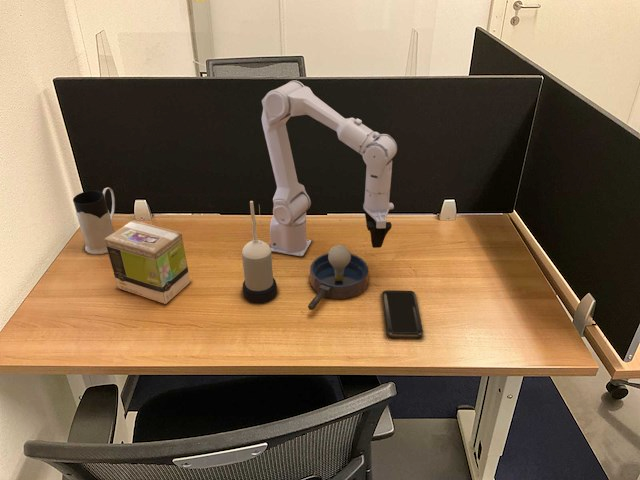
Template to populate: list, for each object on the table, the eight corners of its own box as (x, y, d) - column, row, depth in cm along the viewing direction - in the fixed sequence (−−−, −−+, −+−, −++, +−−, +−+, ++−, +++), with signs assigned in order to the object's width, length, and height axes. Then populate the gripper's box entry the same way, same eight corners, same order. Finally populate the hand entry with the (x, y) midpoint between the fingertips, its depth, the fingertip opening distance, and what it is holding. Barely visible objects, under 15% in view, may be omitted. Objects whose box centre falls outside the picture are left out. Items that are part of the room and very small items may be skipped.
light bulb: (350, 274, 128) (351, 241, 123) (349, 287, 124) (350, 254, 118) (328, 273, 129) (329, 240, 123) (327, 286, 124) (327, 252, 119)
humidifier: (252, 279, 127) (243, 190, 113) (282, 286, 125) (277, 196, 111) (237, 299, 121) (226, 207, 107) (268, 307, 118) (261, 214, 105)
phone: (387, 334, 109) (382, 290, 121) (386, 338, 109) (381, 293, 122) (424, 334, 109) (415, 290, 121) (423, 338, 109) (414, 294, 122)
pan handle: (323, 288, 121) (323, 282, 120) (332, 290, 120) (332, 285, 119) (305, 309, 114) (305, 304, 114) (314, 313, 114) (314, 307, 113)
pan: (302, 293, 122) (302, 280, 120) (320, 260, 134) (320, 248, 132) (360, 304, 119) (360, 291, 117) (373, 270, 130) (373, 257, 128)
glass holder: (78, 252, 137) (62, 203, 129) (107, 225, 149) (95, 179, 141) (107, 256, 136) (93, 207, 128) (134, 228, 147) (123, 182, 139)
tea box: (191, 281, 126) (183, 231, 118) (165, 305, 119) (154, 254, 111) (144, 266, 132) (132, 217, 123) (116, 289, 124) (102, 238, 116)
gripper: (401, 203, 111) (396, 254, 118) (389, 174, 123) (385, 222, 130) (369, 204, 110) (366, 255, 118) (360, 175, 123) (357, 223, 130)
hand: (374, 238), depth 124 cm, fingers open, 7 cm apart
